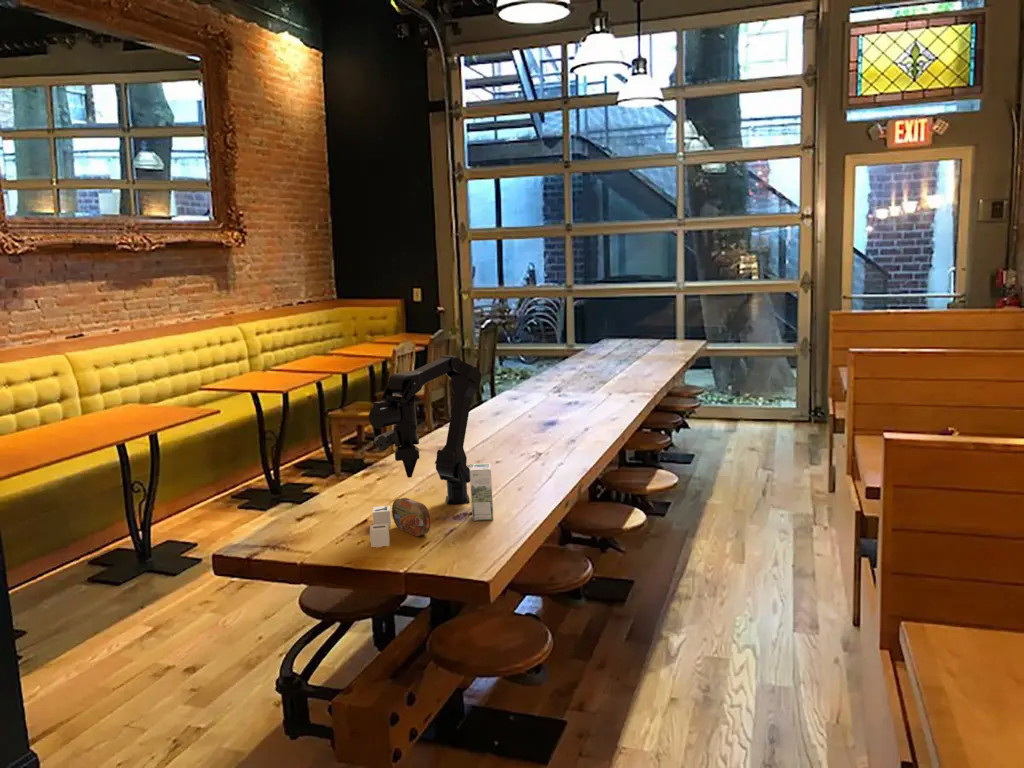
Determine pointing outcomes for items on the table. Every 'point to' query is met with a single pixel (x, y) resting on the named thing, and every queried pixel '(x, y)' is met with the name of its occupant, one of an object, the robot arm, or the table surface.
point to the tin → (411, 516)
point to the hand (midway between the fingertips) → (409, 477)
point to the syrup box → (481, 492)
